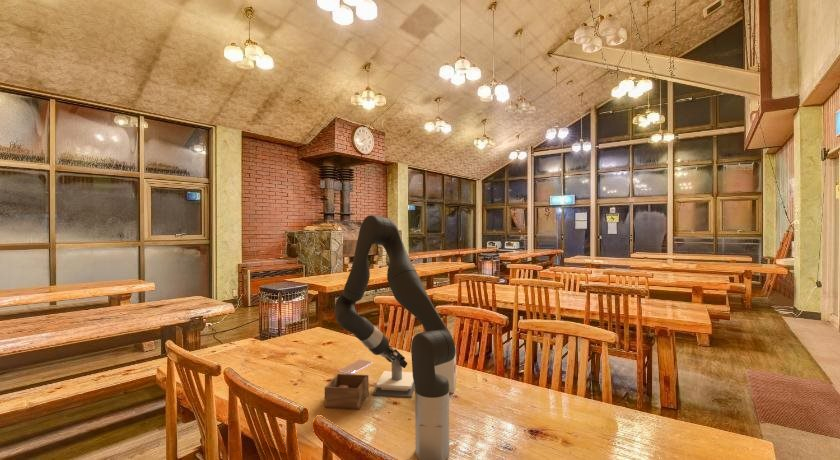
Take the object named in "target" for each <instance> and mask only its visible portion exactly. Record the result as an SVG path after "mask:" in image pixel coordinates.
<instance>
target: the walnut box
mask: <svg viewBox="0 0 840 460" xmlns="http://www.w3.org/2000/svg"><path fill="white" fill-rule="evenodd" d="M369 386H370V385H369V375H368V374H355V373H354V374H347V373H336V374H335V375H334V377H332V378H331V379H330V381H329V382H327V384H326V385H325V386H324V408H325V409H337V410H352V411H353V410H355V411H359V410H360V409H361V408H362V406H363V404H364V403H365V401H366V400H367V398H368V396H369V394H370V393H369V392H370V391H369V388H370V387H369Z"/></svg>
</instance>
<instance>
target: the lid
mask: <svg viewBox="0 0 840 460" xmlns="http://www.w3.org/2000/svg"><path fill="white" fill-rule="evenodd" d="M392 358H393V357H392ZM413 382H414V380H413V373H412V371H403V367H402V366H401V365H400V364H398V363H397V362H396V361H392V362H391V370H389V371H388V370H384V371H383V373H382V374H381V376H380V377H379V379H378V380H377V383H376V385H375V388H377V387H381V390H397V391H408V389H411V387H412V385H413Z"/></svg>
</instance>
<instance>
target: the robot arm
mask: <svg viewBox="0 0 840 460" xmlns="http://www.w3.org/2000/svg"><path fill="white" fill-rule="evenodd" d="M355 245H356V246H355V250H354V255H353V261H352V264H351V269H350V270H349V274H348V277H347V279H346V282H345V285H344V287H343V290H342V292H341V293H340V294H339V296H338V297H337V299H336V301H335V304H334V307H333V311H334V315H335V319H336V321H337V324H338V325H339V326H340V327H341V328H342V329H344V330H345V331H347V332H349V333H350V334H352V335H354V336H355V338H357V339H358V340H359V341H360V342H361V344H362V345H363V346H364V347H365V348H367V349H368V350H369V351H370V352H371V353H372V354H373V355H374V356H381V357H382V358H384V359H386V360H387V362H389V363H392V361H396V362H397V363H398V364H400V365H401V366H402V369H406V367H407V366H408V362H407V361H406V360H405V359H406V357H405V356H404V355H403V354H402V353H400V352H399V350H398V349H395V348H393V347H392V346H391V345H389V344H390V339H389V338H388V337H387V336H386V335H385V334H384V333H383V332H382V331H381V330H380V328H378V327H377V326H375V325H374V324H373V323H372V322H371V321H370V320H369V319H367V318H366V317H365V316H361V315H360V314H359V313H358V311H357V310H356V303H357V302H359V301H360V300H362V299H363V297H364V295H365V292H366V290H367V289H368V285H369V282H370V277H371V275H370V274H371V272H370V266H369V254H370V251H371V248H372V246H373V245H377V246H378V245H379V246H382V247H383V249H385V252H386V255H387V257H388V267H387V273H386V279H387V283H388V286H389V288H390V290H391V293H392V295H393V297H394V299H395V301H397V303H398V304H400V305H401V306H402V307H403V309H405V310H407V311H408V312H409V313H410V314H411V315H412V316H413V317H415V318H416V319H417V320H418V321H419V322H420V324H421V326H423V329H424V331H422V332H419V333H416V334H415V335H414V336H413V338H412V341H411V347H410V349H411V350H410V355H411V370H412V371H411V372H412V373H413V380H414V384H415V388H414V414H415V415H414V417H415V418H414V419H415V420H414V421H415V423H414V425H415V426H414V428H415V431H414V435H415V437H414V438H415V439H414V440H415V457H416V458H417V457H418V458H419V459H418V458H417V459H418V460H447V459H448V458H449V456H450V393H449V381H448V379H447V378H446V377H444V376H442V375H439V374H435V366H437V365H440V364H443V363H447V362H449V361H451V360H453V359H454V357H455V353H456V354H457V347H456V348H455V346H456V344H455V341H454V338H453V336H452V334H451V332H450V330H449V328H448V327H447V325H446V324H445V322H444V321H443V319H442V317H441V316H440V314H439V312H438V311H437V310H436V308H435V306H434V304H433V302H432V301H431V298H430V296H429V295H428V292H427V291H426V289H425V286H424V284H423V282H422V280H421V278H420V276H419V274H418V272H417V270H416V268H415V266H414V265H413V263H412V262H413V261H412V260H411V258H410V256H409V253H408V252H407V249H406V247H405V244H404V242H403V239H402V237H401V234H400V231H399V228H398V225H397V224H396V222H395V221H394V220H393V219H391V218H389V217H384V216H379V215H376V214H375V215H374V214H371V215H367V216H366V217H364V219H363V220H362V222H361V225H360V228H359V231H358V236H357V239H356V244H355ZM392 357H393V358H392Z"/></svg>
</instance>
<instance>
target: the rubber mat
mask: <svg viewBox="0 0 840 460" xmlns="http://www.w3.org/2000/svg"><path fill="white" fill-rule="evenodd" d="M375 388H376V389H375V390H374V392H373V393H372V394H373V396H374V397H390V398H391V397H392V398H410V399H411V398H412V397H413V394H414V392H415V384H414V382H413V385H412V387H411V389H408V391H397V390H381V387H375Z"/></svg>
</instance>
